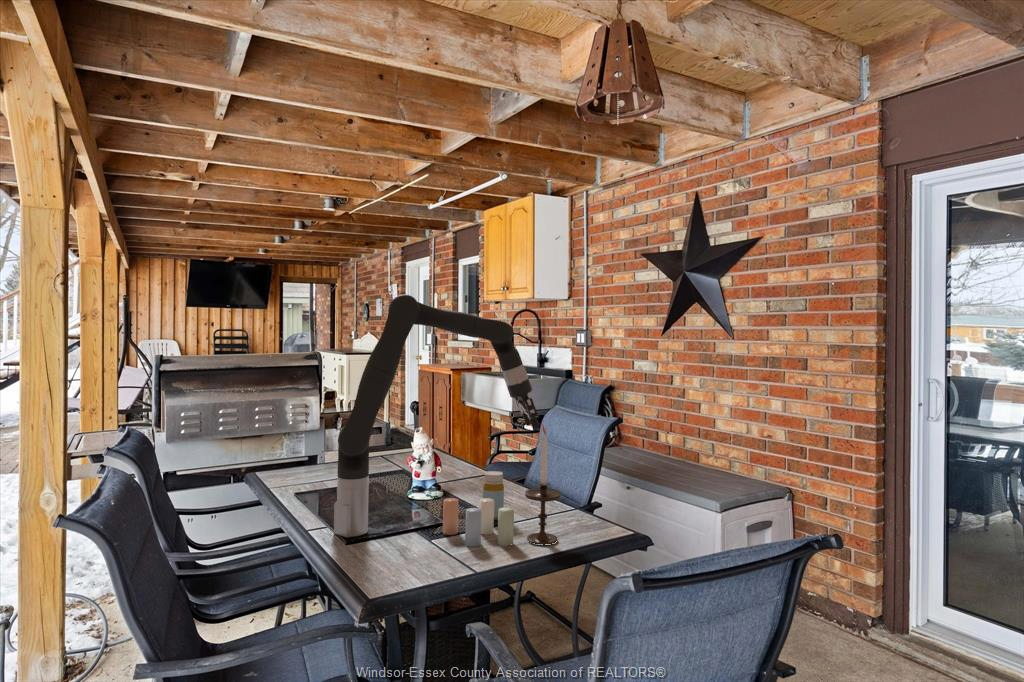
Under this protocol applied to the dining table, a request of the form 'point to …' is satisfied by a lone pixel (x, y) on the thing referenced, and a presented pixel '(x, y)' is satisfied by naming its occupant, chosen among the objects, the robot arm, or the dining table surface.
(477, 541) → the dusty blue canister
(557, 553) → the dining table surface
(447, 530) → the terracotta canister
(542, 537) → the candlestick
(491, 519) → the cream canister
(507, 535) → the sage canister
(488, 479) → the bottle
